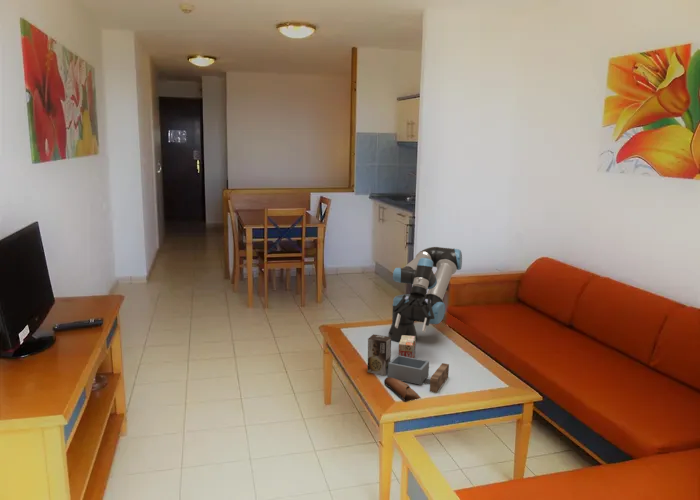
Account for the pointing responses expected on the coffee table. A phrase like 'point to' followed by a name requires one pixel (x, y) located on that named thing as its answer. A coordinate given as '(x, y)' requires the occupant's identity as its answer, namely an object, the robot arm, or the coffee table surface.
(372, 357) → the coffee box
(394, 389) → the sunglasses case
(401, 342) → the stack of blocks
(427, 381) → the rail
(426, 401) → the coffee table surface
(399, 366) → the box
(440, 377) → the walnut backstop
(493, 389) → the coffee table surface
